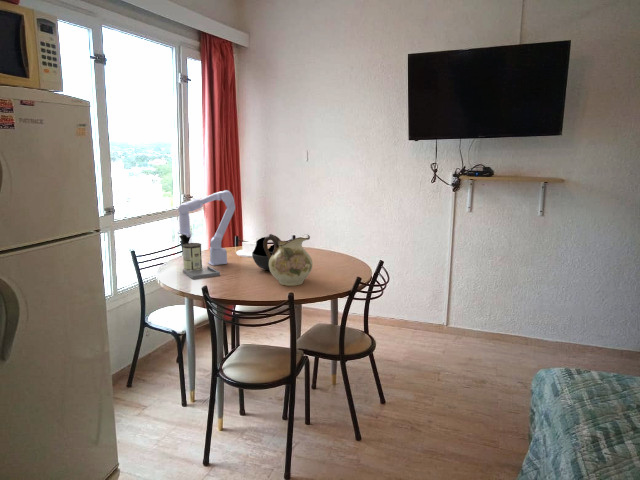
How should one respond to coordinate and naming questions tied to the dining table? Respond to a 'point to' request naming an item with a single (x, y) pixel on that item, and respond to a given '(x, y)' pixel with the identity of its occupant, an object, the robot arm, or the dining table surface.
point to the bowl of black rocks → (262, 254)
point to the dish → (247, 249)
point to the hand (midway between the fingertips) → (185, 247)
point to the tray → (202, 273)
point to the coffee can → (192, 256)
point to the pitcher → (288, 260)
